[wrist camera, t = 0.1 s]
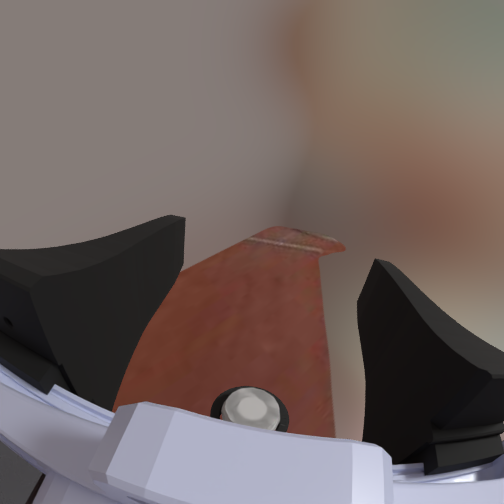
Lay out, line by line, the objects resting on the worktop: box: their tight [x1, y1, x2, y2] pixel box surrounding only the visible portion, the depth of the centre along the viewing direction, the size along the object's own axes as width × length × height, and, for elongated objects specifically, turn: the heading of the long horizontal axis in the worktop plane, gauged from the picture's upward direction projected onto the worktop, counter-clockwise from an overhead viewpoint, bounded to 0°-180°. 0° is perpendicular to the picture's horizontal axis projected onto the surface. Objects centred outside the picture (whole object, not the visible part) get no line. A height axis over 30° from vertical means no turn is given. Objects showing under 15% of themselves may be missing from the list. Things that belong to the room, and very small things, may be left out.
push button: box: [210, 386, 289, 433], centre depth 20 cm, size 7×5×10 cm
